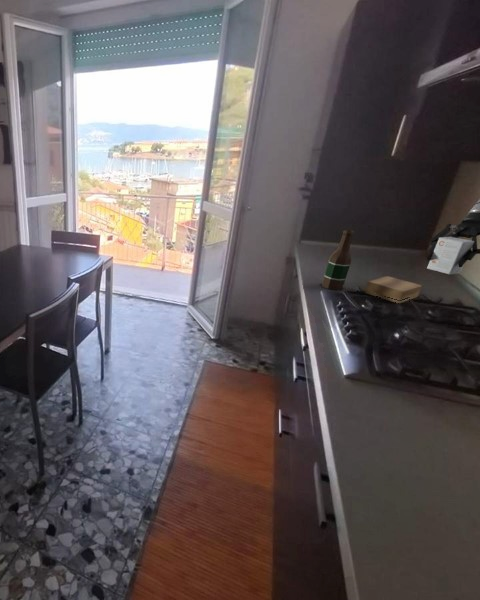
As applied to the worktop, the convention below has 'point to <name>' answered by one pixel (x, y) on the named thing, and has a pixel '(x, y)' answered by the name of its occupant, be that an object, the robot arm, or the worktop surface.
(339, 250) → the beer bottle
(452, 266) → the small box
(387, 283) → the birch block
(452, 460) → the worktop surface
